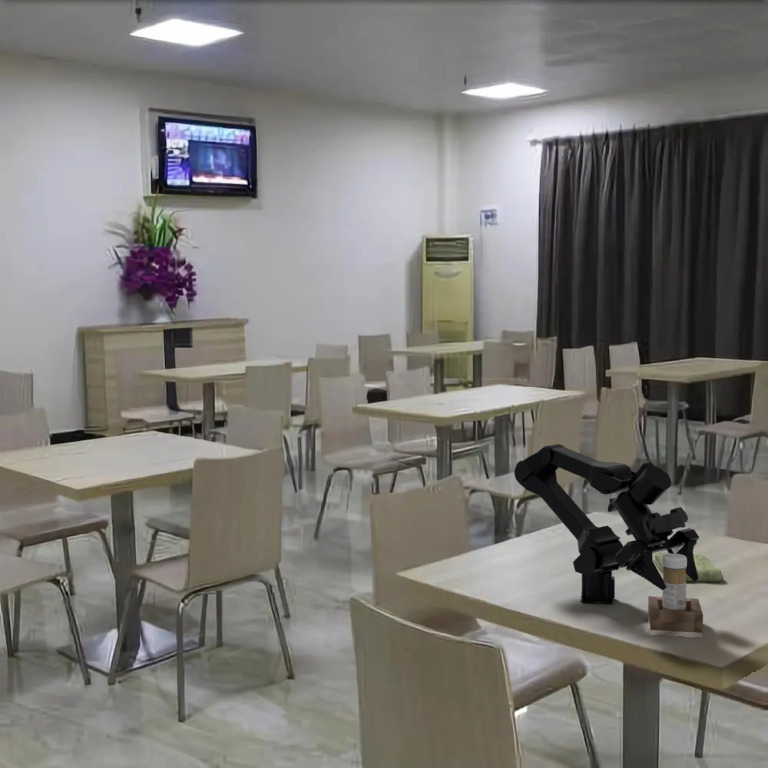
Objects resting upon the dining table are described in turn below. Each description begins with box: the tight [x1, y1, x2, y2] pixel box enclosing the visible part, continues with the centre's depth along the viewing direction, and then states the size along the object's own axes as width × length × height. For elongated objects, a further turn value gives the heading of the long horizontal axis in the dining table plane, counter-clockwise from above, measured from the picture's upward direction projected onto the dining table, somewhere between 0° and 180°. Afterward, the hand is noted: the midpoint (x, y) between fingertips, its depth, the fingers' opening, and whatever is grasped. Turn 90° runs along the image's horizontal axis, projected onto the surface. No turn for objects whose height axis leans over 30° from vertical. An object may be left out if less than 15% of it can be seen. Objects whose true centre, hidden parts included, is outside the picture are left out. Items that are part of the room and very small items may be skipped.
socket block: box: [647, 595, 704, 639], centre depth 193 cm, size 10×10×4 cm
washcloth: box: [653, 552, 724, 583], centre depth 229 cm, size 13×18×3 cm
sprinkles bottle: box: [662, 553, 687, 611], centre depth 192 cm, size 5×5×13 cm
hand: (680, 584), depth 191 cm, fingers open, 9 cm apart
